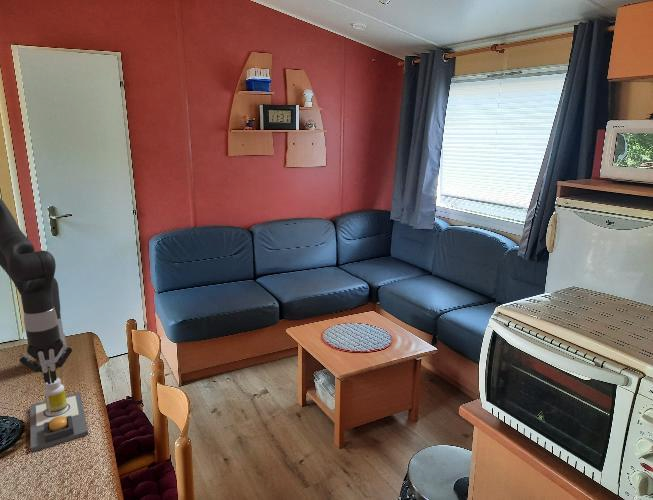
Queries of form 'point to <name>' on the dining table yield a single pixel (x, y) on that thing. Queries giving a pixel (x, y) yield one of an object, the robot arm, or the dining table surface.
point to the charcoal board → (46, 438)
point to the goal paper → (44, 416)
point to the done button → (58, 423)
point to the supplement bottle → (55, 397)
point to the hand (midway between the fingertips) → (51, 382)
